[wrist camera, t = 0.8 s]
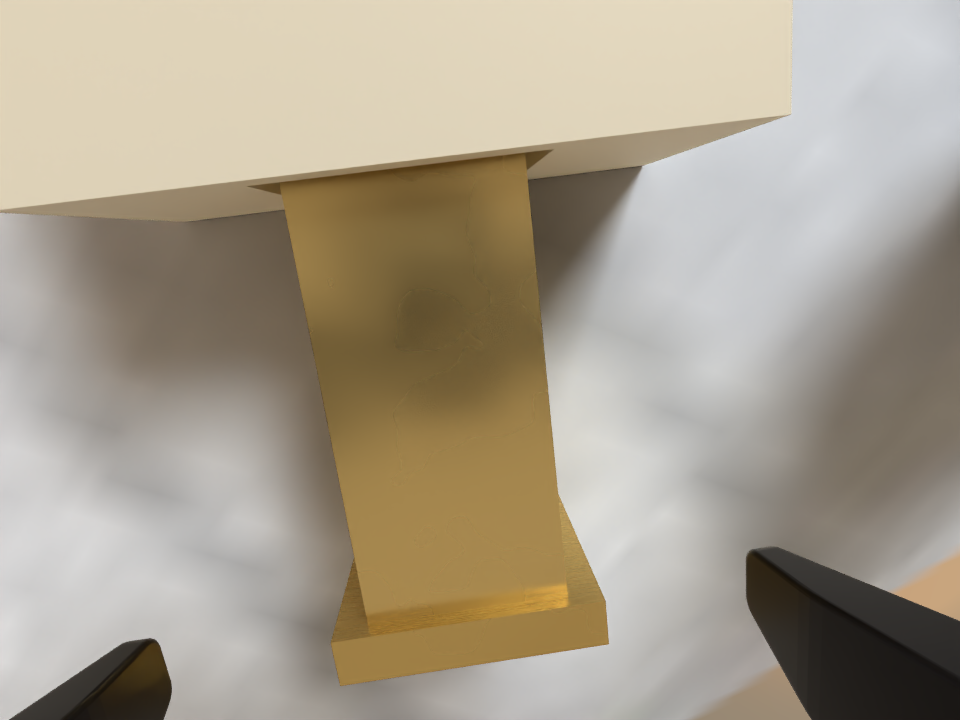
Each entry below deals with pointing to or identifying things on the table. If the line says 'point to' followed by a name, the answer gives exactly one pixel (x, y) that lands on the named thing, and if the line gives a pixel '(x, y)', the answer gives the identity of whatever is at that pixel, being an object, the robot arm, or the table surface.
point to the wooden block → (439, 418)
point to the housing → (360, 92)
